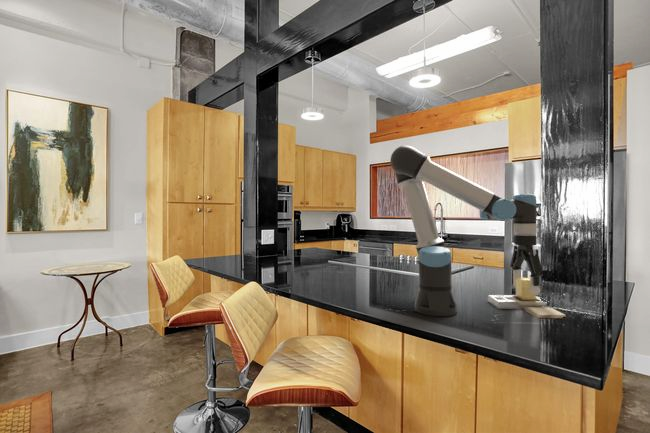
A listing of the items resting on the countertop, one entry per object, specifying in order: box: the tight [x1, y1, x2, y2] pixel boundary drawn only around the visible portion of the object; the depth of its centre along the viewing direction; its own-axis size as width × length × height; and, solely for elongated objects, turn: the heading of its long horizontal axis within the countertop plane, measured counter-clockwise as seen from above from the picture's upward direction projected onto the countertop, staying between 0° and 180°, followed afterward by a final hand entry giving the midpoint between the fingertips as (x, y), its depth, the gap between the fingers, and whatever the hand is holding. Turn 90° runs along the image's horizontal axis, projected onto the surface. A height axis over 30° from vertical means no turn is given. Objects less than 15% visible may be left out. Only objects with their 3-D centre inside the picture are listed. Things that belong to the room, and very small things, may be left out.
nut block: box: [515, 277, 537, 301], centre depth 129 cm, size 5×5×10 cm
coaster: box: [523, 306, 567, 319], centre depth 119 cm, size 9×9×2 cm
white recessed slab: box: [487, 294, 547, 310], centre depth 130 cm, size 18×10×3 cm, turn 84°
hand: (525, 290), depth 129 cm, fingers open, 13 cm apart
